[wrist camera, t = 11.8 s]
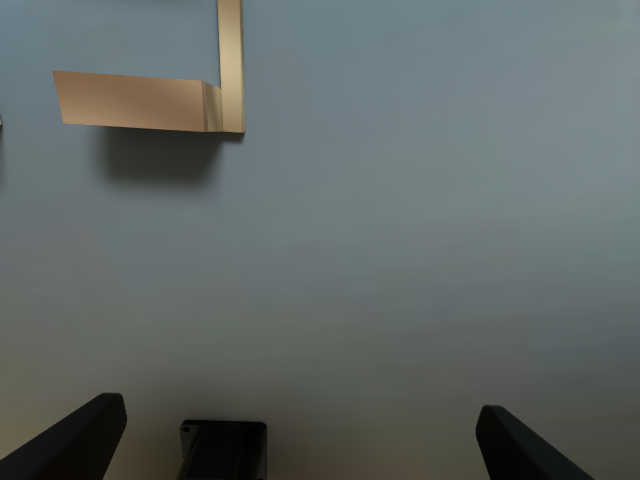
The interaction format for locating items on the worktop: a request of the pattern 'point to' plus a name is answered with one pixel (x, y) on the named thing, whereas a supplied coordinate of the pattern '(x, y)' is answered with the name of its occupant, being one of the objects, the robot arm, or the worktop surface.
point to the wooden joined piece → (164, 92)
